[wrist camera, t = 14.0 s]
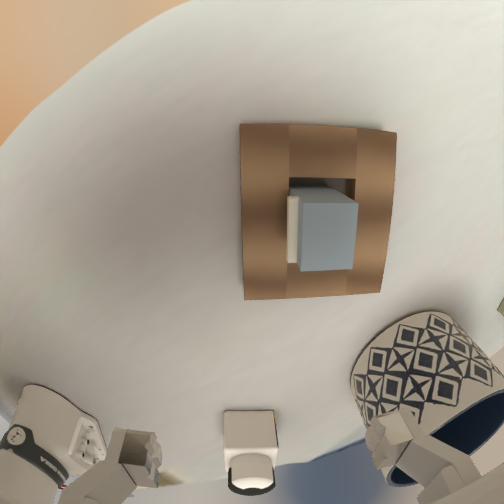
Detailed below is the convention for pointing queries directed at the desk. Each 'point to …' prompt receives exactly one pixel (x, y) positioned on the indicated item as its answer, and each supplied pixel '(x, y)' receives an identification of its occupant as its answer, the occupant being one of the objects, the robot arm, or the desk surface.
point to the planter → (431, 384)
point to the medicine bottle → (250, 451)
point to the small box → (501, 308)
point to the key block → (320, 228)
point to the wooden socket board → (313, 173)
